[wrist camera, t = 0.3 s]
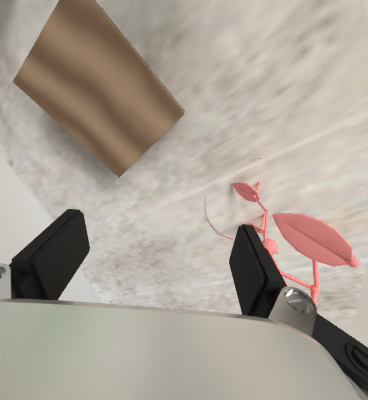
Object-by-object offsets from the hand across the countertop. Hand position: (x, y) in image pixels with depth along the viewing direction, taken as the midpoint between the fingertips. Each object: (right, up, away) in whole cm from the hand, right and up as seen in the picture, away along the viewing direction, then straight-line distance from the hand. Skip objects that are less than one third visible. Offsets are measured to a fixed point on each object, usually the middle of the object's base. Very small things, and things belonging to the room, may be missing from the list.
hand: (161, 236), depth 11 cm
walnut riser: (-11, +21, +24) cm, 34 cm away
